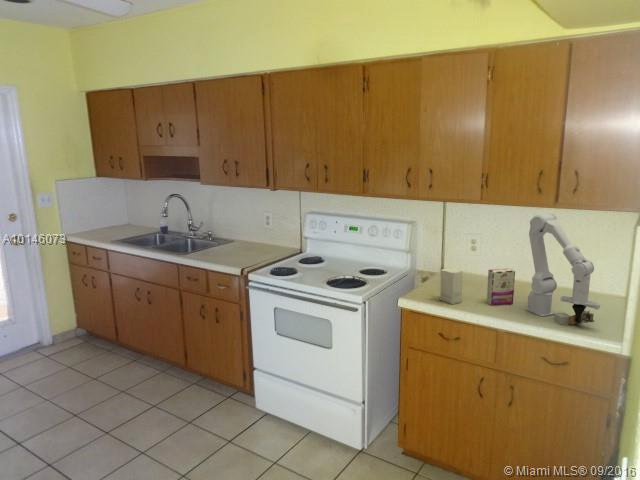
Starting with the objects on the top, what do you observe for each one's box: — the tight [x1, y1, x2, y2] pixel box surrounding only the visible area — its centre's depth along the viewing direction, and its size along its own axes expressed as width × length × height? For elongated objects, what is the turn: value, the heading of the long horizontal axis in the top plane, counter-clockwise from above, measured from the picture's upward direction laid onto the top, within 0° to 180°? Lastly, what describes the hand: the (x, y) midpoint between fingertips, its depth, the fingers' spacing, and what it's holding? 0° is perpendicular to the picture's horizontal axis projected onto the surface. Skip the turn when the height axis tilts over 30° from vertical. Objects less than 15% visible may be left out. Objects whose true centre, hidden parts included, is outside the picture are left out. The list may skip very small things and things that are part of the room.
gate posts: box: [580, 312, 595, 323], centre depth 197 cm, size 4×6×3 cm
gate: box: [568, 308, 591, 325], centre depth 195 cm, size 12×3×4 cm, turn 123°
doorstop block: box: [553, 312, 571, 326], centre depth 195 cm, size 4×4×4 cm
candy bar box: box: [486, 267, 516, 306], centre depth 217 cm, size 11×5×16 cm, turn 99°
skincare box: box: [439, 267, 463, 305], centre depth 220 cm, size 8×7×16 cm
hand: (577, 321), depth 192 cm, fingers closed, pressing on gate
